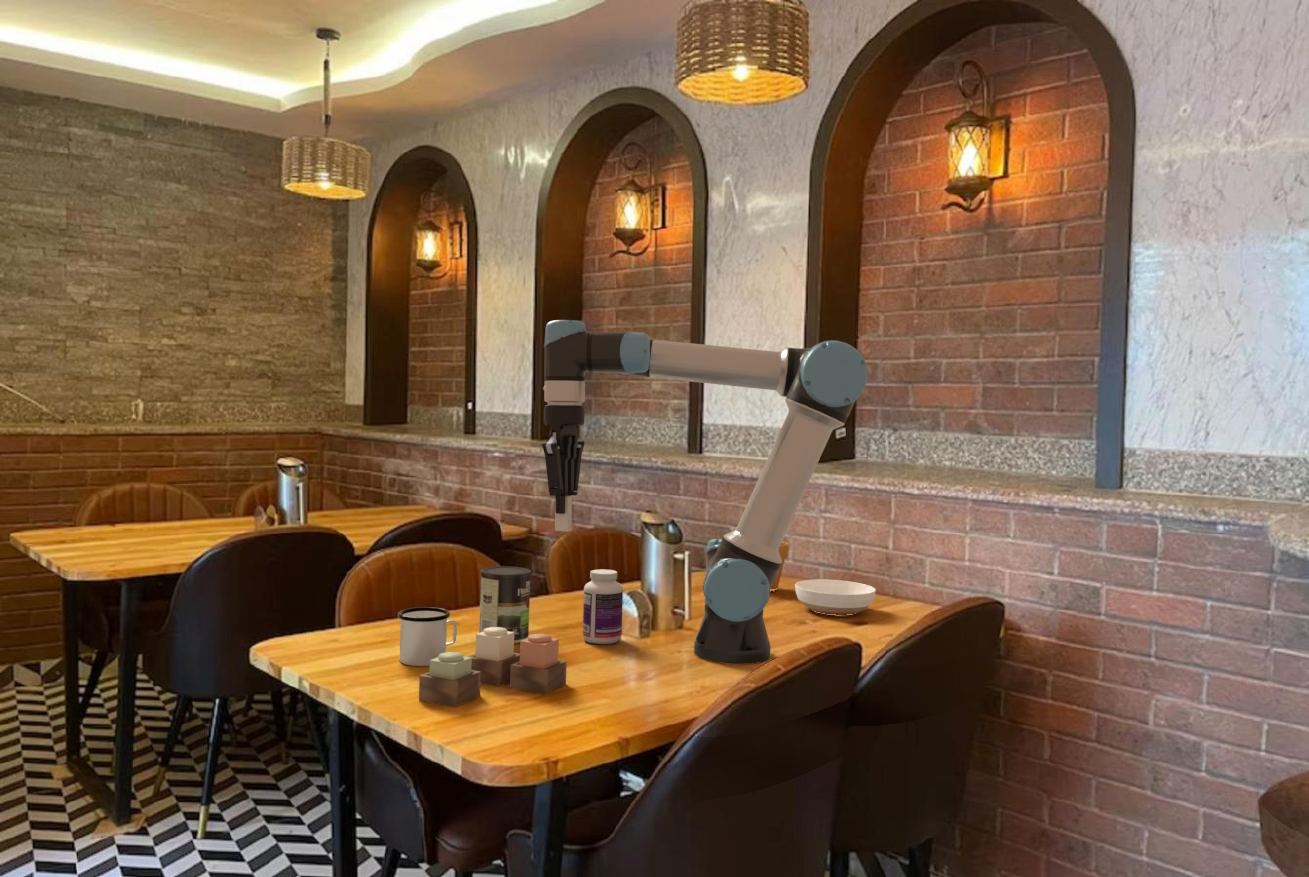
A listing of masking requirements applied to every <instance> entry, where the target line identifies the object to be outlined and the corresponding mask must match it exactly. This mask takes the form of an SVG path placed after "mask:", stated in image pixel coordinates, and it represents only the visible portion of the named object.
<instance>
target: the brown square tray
mask: <svg viewBox="0 0 1309 877" xmlns="http://www.w3.org/2000/svg"><path fill="white" fill-rule="evenodd" d="M480 677H481V672H480V671H474V670H471V674H469V675H466V676H464V677H461V678H459V679H457V680H450V679H444V678H439V677H433V676H429V671H428V672H425V673H422V674H420V675H419V681H418V684H419V686H418V701H421V702H428V703H433V704H439V705H441V706H442V705H443V706H448V707H453V708H456V707H458V706H460V705H462V704H464V703H468V702H469V701H471V700H473V699H475V698H477V697H480V696H481V683H480Z"/></svg>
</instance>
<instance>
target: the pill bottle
mask: <svg viewBox="0 0 1309 877" xmlns="http://www.w3.org/2000/svg"><path fill="white" fill-rule="evenodd" d="M589 578H590V579H591V580H590V581H589V582H587V583H585V585H584V586H583V610H582V611H583V614H582V617H583V618H582V638H583V640H584V641H585V642H587V643H590V644H593V645H594V644H595V645H612V644H615V643H618V642H619V641H620V640H621V639H622V636H623V634H622V633H623V600H624V599H623V596H624V588H623V586H622V584H621V583H620V582H618V581H617V580H618V571H616V570H614V569H603V568H602V569H601V568H600V569H593V570H590V573H589Z"/></svg>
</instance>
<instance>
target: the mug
mask: <svg viewBox="0 0 1309 877" xmlns="http://www.w3.org/2000/svg"><path fill="white" fill-rule="evenodd" d="M450 616H451V612H450V611H449V610H448V609H446V608H442V607H432V606H431V607H429V606H423V607H422V606H420V607H419V606H418V607H410V608H406V609H405V608H404V609H402V610H400V611H398V612H397V618H398V619H399V620H400V635H399V638H400V639H399V662H400V663H402V664H404V665H406V666H411V667H430V660H432V659H434V658H437V657H438V656H439V654H441V653H446V652H447V647H448V646H453V645H454V644H455V643H456V640H457V633H458V632H457V631H458V628H457V627H458V622H457V621H456V620H454V619H449V618H450ZM450 623H452V624H453V627H452V628H453V632H452V640H451V641H450V642H447V635H448V634H447V633H448V632H447V627H448V626H447V624H450Z"/></svg>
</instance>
